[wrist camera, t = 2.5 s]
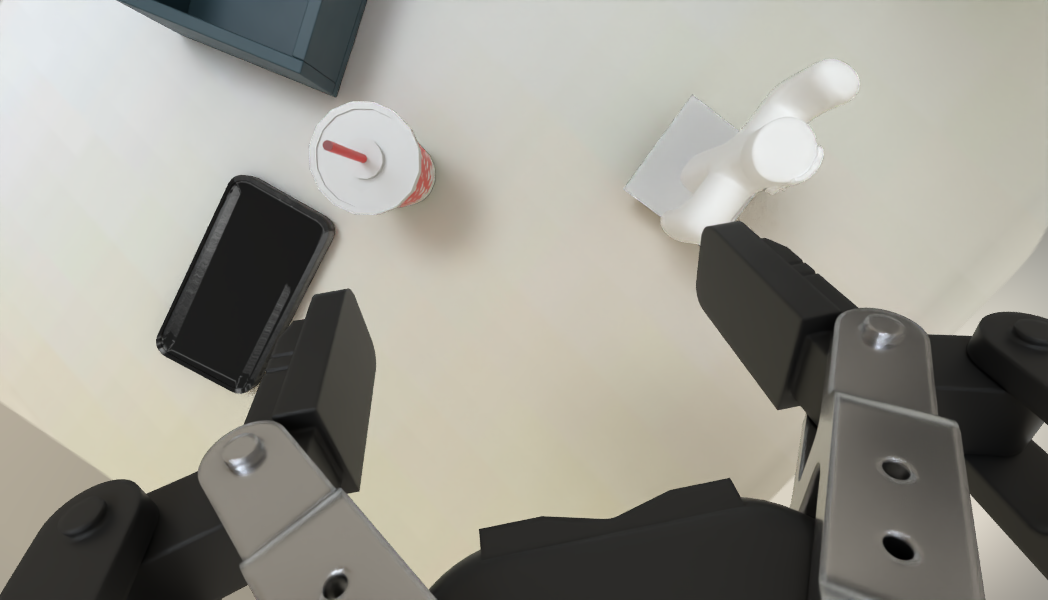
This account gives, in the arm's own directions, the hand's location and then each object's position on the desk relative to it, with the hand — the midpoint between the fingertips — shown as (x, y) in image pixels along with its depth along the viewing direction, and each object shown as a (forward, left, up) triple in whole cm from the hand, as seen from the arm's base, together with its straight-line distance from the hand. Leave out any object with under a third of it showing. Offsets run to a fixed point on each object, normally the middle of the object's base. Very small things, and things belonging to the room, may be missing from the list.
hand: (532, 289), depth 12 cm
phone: (+11, -18, -26) cm, 33 cm away
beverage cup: (-1, -10, -26) cm, 28 cm away
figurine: (-8, +9, -26) cm, 29 cm away
